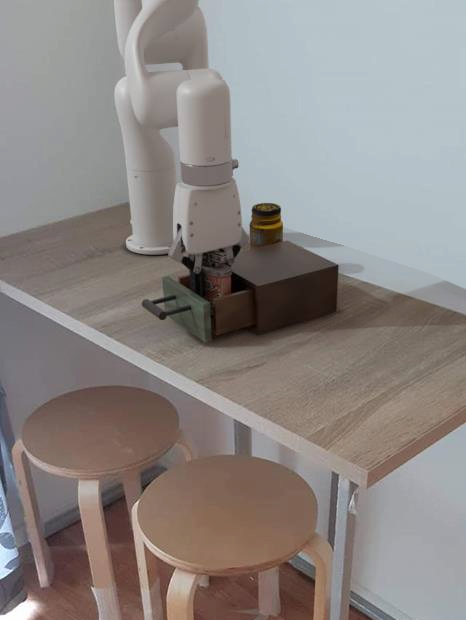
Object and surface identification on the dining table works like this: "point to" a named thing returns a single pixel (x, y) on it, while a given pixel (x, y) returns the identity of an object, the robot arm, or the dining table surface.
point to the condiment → (265, 225)
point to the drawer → (205, 308)
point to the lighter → (216, 276)
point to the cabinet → (287, 284)
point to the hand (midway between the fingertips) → (211, 289)
